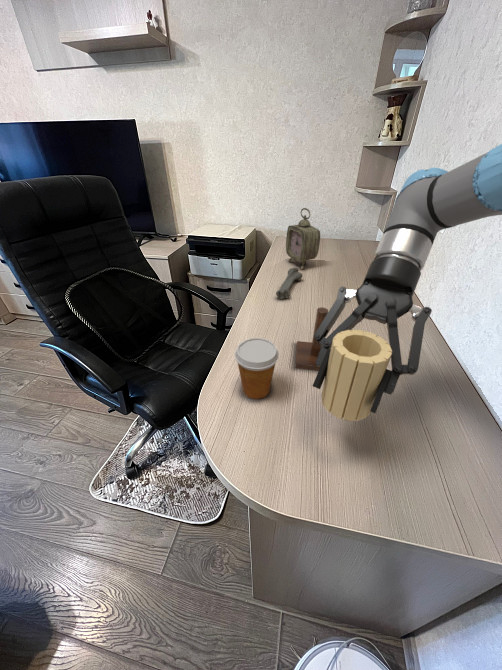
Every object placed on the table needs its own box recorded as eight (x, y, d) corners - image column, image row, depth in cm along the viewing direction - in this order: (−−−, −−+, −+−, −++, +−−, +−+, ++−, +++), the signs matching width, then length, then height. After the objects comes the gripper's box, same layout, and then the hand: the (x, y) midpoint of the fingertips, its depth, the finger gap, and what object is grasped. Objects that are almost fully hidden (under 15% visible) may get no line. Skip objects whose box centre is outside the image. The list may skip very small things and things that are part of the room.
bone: (288, 277, 120) (288, 264, 116) (303, 279, 118) (304, 265, 114) (272, 299, 103) (273, 284, 100) (290, 302, 101) (291, 287, 98)
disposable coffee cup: (266, 371, 71) (267, 332, 64) (283, 397, 64) (286, 357, 57) (231, 381, 68) (228, 341, 61) (244, 409, 61) (243, 368, 54)
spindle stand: (335, 372, 71) (346, 322, 62) (295, 368, 72) (301, 319, 63) (332, 348, 79) (341, 301, 70) (296, 345, 80) (302, 298, 71)
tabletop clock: (284, 261, 136) (288, 206, 121) (300, 258, 139) (305, 204, 124) (301, 271, 125) (307, 212, 110) (317, 268, 128) (325, 210, 114)
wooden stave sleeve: (375, 424, 43) (398, 365, 36) (322, 417, 44) (335, 359, 37) (366, 387, 50) (384, 332, 43) (320, 382, 51) (331, 327, 44)
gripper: (467, 291, 43) (415, 430, 41) (335, 264, 52) (289, 375, 51) (483, 269, 36) (422, 434, 34) (329, 243, 46) (276, 370, 44)
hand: (343, 399), depth 42 cm, fingers closed on wooden stave sleeve, 8 cm apart
